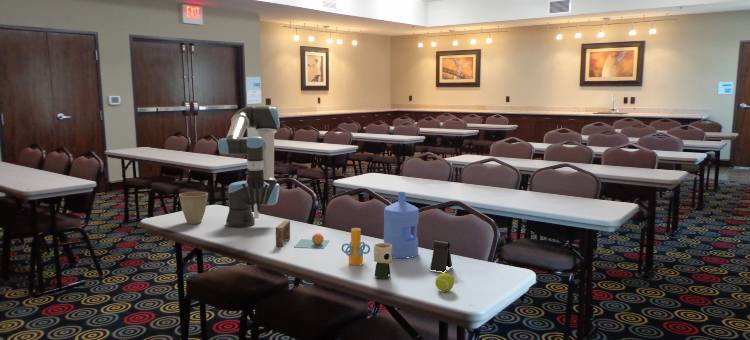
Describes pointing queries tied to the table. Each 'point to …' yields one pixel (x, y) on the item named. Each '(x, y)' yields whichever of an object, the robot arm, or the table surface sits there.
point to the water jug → (401, 227)
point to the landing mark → (310, 244)
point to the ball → (317, 239)
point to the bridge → (282, 233)
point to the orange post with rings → (355, 247)
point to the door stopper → (441, 256)
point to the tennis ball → (444, 282)
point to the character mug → (382, 259)
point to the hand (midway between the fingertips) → (256, 217)
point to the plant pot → (193, 206)
